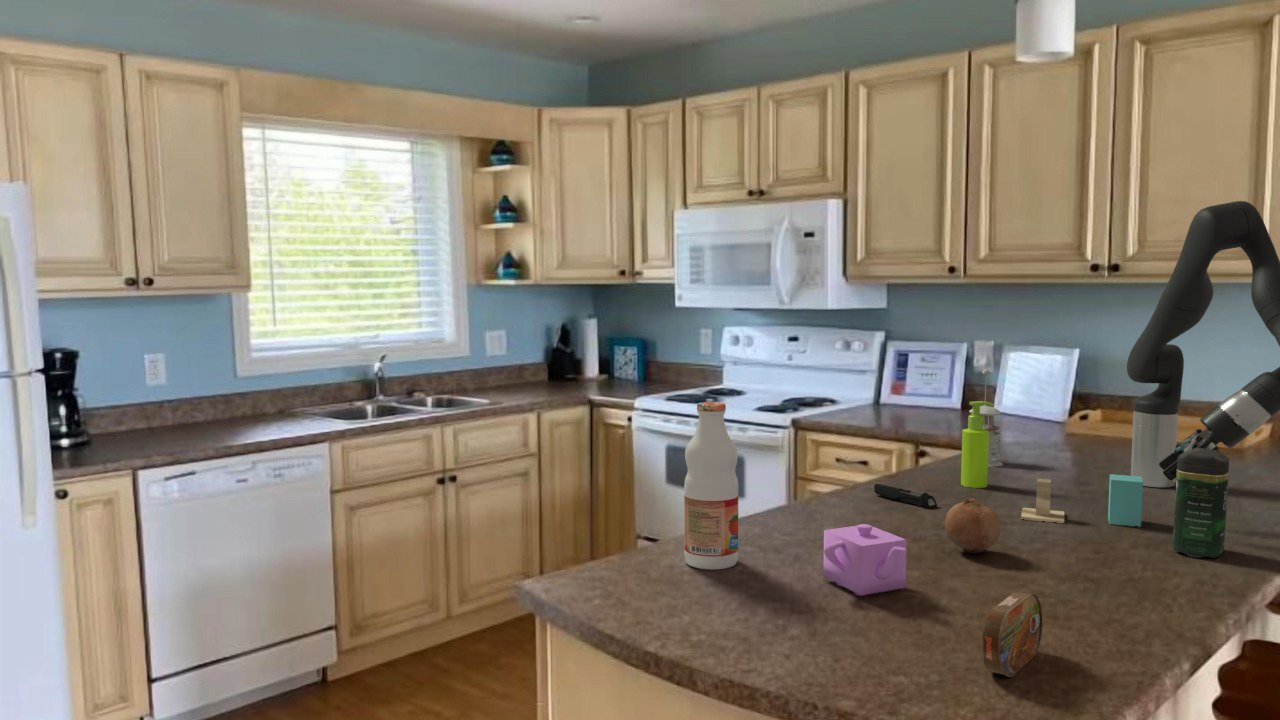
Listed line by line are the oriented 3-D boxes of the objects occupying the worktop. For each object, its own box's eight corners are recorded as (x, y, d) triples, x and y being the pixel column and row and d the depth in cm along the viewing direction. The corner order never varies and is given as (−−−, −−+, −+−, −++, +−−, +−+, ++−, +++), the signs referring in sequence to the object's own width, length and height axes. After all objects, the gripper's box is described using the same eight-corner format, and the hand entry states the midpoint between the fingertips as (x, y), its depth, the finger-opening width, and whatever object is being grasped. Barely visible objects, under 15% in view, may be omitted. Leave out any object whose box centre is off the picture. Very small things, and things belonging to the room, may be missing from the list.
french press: (963, 465, 243) (965, 370, 241) (965, 457, 254) (967, 366, 251) (1003, 467, 239) (1006, 371, 237) (1003, 459, 250) (1006, 367, 248)
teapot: (937, 600, 142) (938, 536, 141) (862, 614, 137) (863, 547, 136) (864, 567, 159) (865, 509, 158) (795, 578, 153) (796, 518, 152)
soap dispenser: (993, 488, 216) (996, 403, 214) (962, 487, 217) (965, 403, 216) (989, 483, 222) (992, 400, 220) (959, 482, 223) (961, 399, 221)
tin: (1001, 686, 112) (1003, 619, 112) (976, 679, 115) (978, 613, 114) (1044, 649, 124) (1046, 587, 123) (1020, 643, 126) (1022, 582, 125)
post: (1022, 510, 196) (1023, 475, 195) (1064, 514, 193) (1065, 478, 192) (1020, 519, 189) (1022, 482, 188) (1064, 523, 185) (1065, 486, 185)
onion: (937, 545, 171) (939, 492, 170) (989, 545, 171) (990, 492, 170) (953, 560, 162) (955, 504, 161) (1008, 561, 161) (1009, 504, 160)
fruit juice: (678, 556, 165) (677, 400, 163) (728, 552, 167) (728, 399, 165) (692, 572, 156) (692, 408, 153) (745, 568, 158) (746, 406, 156)
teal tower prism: (1108, 517, 190) (1109, 474, 189) (1138, 520, 188) (1140, 476, 187) (1109, 524, 185) (1111, 479, 184) (1140, 527, 182) (1142, 482, 182)
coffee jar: (1221, 562, 160) (1226, 456, 158) (1168, 554, 165) (1173, 451, 163) (1227, 549, 168) (1232, 448, 166) (1177, 541, 172) (1182, 443, 171)
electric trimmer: (881, 495, 212) (881, 481, 212) (938, 507, 199) (938, 493, 199) (870, 497, 210) (870, 483, 210) (927, 510, 197) (927, 495, 197)
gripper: (1214, 399, 184) (1146, 452, 190) (1225, 408, 171) (1152, 464, 177) (1244, 427, 182) (1174, 479, 188) (1258, 439, 169) (1183, 494, 175)
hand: (1164, 472), depth 182 cm, fingers open, 8 cm apart
